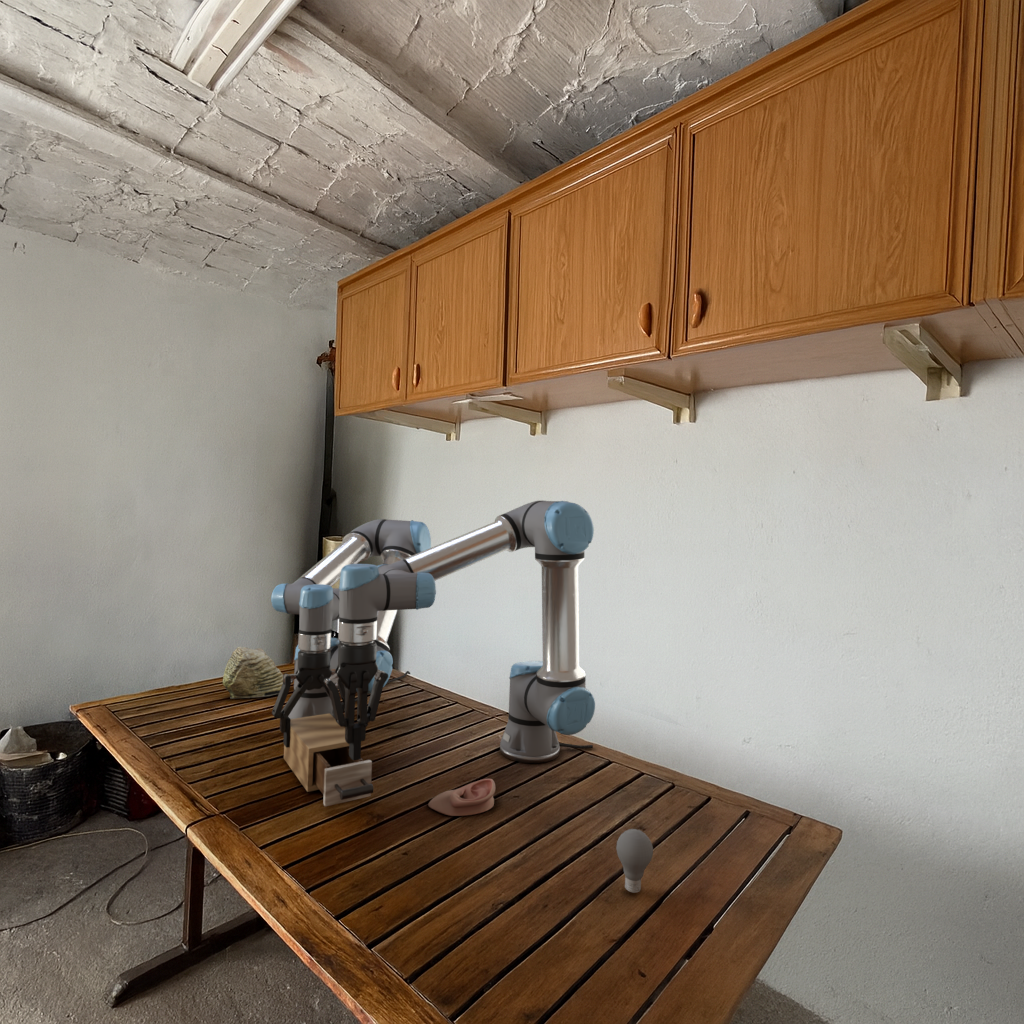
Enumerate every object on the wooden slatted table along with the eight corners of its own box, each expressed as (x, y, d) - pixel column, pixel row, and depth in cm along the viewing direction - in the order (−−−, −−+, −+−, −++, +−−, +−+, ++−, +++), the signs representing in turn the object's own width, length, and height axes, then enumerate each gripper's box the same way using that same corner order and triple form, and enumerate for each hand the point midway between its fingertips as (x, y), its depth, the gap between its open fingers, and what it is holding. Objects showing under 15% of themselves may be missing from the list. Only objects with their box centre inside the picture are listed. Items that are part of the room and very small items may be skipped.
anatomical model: (423, 792, 129) (441, 769, 140) (422, 812, 129) (440, 787, 140) (487, 801, 126) (499, 777, 137) (486, 821, 126) (498, 795, 137)
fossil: (218, 695, 195) (220, 647, 195) (278, 685, 208) (279, 640, 207) (228, 703, 189) (230, 653, 188) (289, 692, 201) (290, 645, 201)
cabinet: (356, 781, 141) (357, 739, 141) (307, 792, 135) (308, 748, 135) (328, 750, 158) (329, 713, 158) (283, 758, 152) (284, 719, 152)
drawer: (380, 807, 127) (381, 771, 127) (333, 818, 122) (334, 781, 122) (341, 763, 148) (342, 732, 148) (299, 771, 143) (300, 739, 143)
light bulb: (610, 879, 108) (613, 822, 108) (644, 879, 109) (647, 822, 109) (619, 902, 102) (622, 840, 102) (655, 901, 103) (658, 840, 103)
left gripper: (267, 658, 142) (263, 755, 142) (366, 648, 155) (363, 738, 155) (259, 651, 148) (256, 744, 149) (356, 642, 161) (353, 728, 162)
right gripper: (331, 649, 120) (328, 771, 121) (395, 642, 128) (392, 757, 128) (319, 640, 127) (316, 757, 127) (381, 634, 134) (378, 744, 135)
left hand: (311, 741), depth 152 cm, fingers closed on cabinet, 11 cm apart
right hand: (354, 757), depth 128 cm, fingers closed
